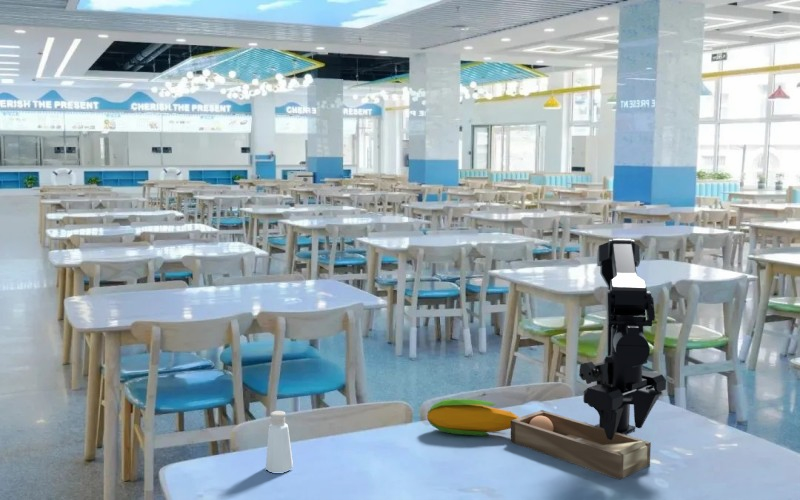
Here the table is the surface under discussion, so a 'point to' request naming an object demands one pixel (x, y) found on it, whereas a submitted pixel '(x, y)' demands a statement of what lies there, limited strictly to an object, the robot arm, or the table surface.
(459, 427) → the corn
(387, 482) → the table surface
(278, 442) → the pepper shaker
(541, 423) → the ball
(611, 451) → the brown wooden open box
